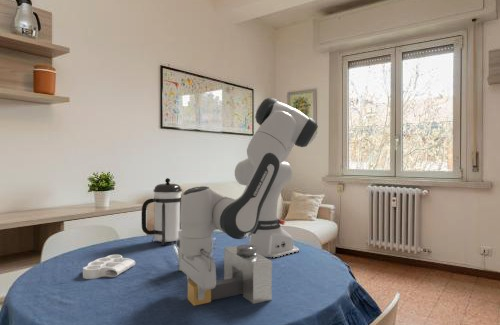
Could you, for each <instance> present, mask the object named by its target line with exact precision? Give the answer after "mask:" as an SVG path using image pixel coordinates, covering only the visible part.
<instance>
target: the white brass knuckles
mask: <svg viewBox="0 0 500 325" xmlns="http://www.w3.org/2000/svg"><path fill="white" fill-rule="evenodd" d="M135 265H136V260H134V259H132V258H129V257H123V256H122V255H121V254H110V255H107V256H105V257H100V258H97V259H95V260H94V261H90V262H89V263H87V265H86V266H83V267H82V278H83V279H85V280H86V279H87V280H94V279H98V278H101V277H107V278H108V277H109V278H115V277H117V276H119V275H120V274H122V273H124V272H126V271H127V270H128V269H131V268H132V267H134V266H135Z"/></svg>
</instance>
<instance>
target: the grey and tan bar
mask: <svg viewBox="0 0 500 325" xmlns="http://www.w3.org/2000/svg"><path fill="white" fill-rule="evenodd" d="M197 292H198V285H197V284H196V283H195V282H194V281H188V280H187V300H188V302H190V303H191V305H192V306H199V305H203V304H208V303H212V301H215V300H219V299H220V300H221V299H224V298H228V297H234V296H238V295H239V296H240V295H243V276H241V277H236V278H230V279H225V280H224V279H220V280H216V286H215V288H213V289H209V290H206V291H205V298H204V300H198V299H197Z"/></svg>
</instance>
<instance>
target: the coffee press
mask: <svg viewBox="0 0 500 325" xmlns="http://www.w3.org/2000/svg"><path fill="white" fill-rule="evenodd" d="M164 181H165V183H159V184H157V185H156V186H154V188H153V193H154V194H153V195H154V197H153V198H148V199H145V201H144V202H143V204H142V206H141V229H142V231H143V233H145V234H147V235H153V237H152V239H151V242H152V243H155V242H156V241H157V242H161V243H160V245H161V247H165V246H166V244H167V243H168V242H169V243H170V242H174V241H177V239H178V230H181V229H182V224H181V221H180V211H181V200H182V195H183V193H184V192H183V191H182V190H183V189H182V188H181V186H180V184H177V183H170V182H171V179H170V178H169V177H166V178H165V180H164ZM152 203H154V204H153V230H149V229H148V228H147V207H148V206H149V204H152ZM154 239H155V240H154Z"/></svg>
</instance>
